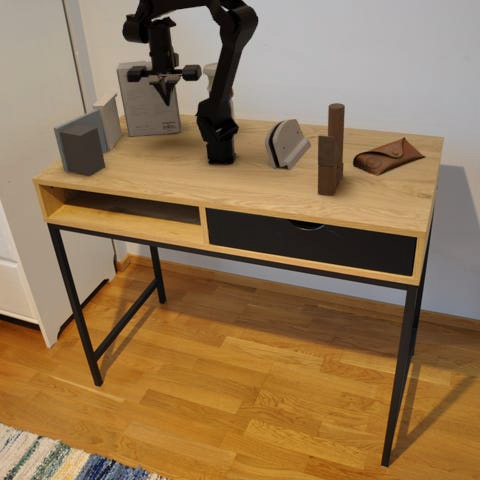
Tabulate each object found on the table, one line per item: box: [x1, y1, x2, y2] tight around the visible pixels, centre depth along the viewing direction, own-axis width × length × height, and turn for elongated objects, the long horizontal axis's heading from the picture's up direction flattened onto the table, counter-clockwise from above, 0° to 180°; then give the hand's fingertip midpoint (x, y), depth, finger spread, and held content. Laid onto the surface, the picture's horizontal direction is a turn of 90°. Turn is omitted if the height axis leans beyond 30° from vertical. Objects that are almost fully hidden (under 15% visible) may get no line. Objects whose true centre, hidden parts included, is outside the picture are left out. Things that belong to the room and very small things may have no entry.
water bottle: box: [202, 61, 236, 136], centre depth 155 cm, size 8×9×25 cm
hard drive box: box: [115, 59, 182, 137], centre depth 162 cm, size 16×8×20 cm, turn 94°
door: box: [53, 109, 109, 173], centre depth 148 cm, size 3×16×12 cm, turn 148°
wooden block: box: [317, 102, 346, 197], centre depth 125 cm, size 4×11×18 cm, turn 159°
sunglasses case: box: [352, 136, 426, 177], centre depth 139 cm, size 18×7×7 cm
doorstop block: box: [60, 124, 106, 177], centre depth 143 cm, size 7×6×11 cm
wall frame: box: [92, 92, 123, 151], centre depth 157 cm, size 3×11×13 cm, turn 172°
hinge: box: [264, 118, 312, 171], centre depth 144 cm, size 17×5×10 cm, turn 156°
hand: (168, 105), depth 148 cm, fingers closed
